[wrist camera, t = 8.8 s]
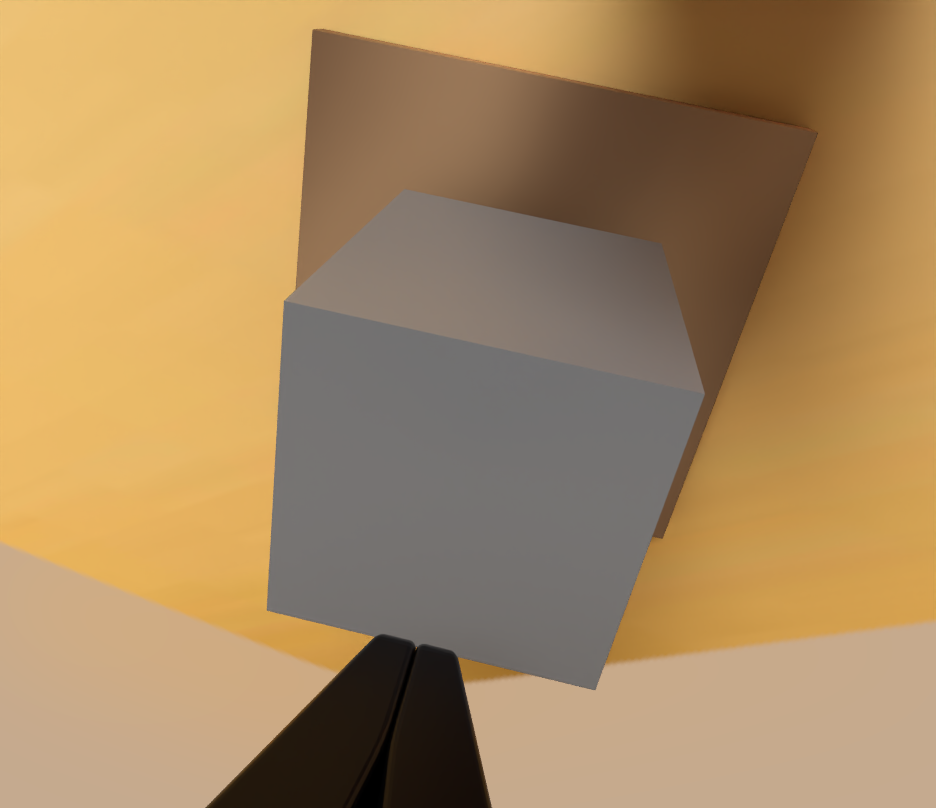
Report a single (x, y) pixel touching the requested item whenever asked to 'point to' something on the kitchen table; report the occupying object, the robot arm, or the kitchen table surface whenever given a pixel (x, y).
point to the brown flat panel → (554, 173)
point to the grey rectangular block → (478, 434)
